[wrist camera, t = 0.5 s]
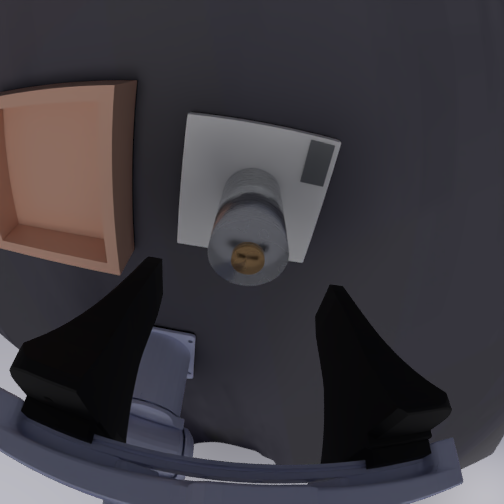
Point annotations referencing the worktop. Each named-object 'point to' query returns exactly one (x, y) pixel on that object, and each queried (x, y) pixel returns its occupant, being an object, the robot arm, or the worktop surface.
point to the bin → (68, 172)
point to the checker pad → (253, 156)
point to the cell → (249, 230)
